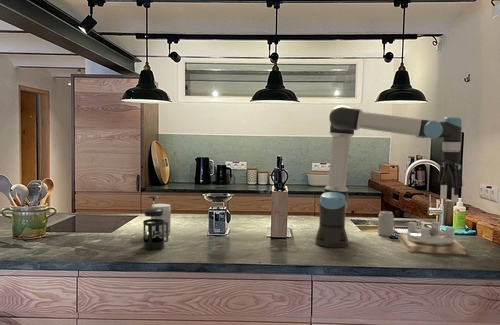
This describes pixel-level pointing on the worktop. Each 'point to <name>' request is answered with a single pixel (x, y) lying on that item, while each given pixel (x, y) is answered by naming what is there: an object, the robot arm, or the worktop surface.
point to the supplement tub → (163, 216)
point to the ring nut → (430, 235)
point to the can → (385, 223)
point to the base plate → (431, 247)
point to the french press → (155, 242)
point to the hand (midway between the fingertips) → (448, 200)
